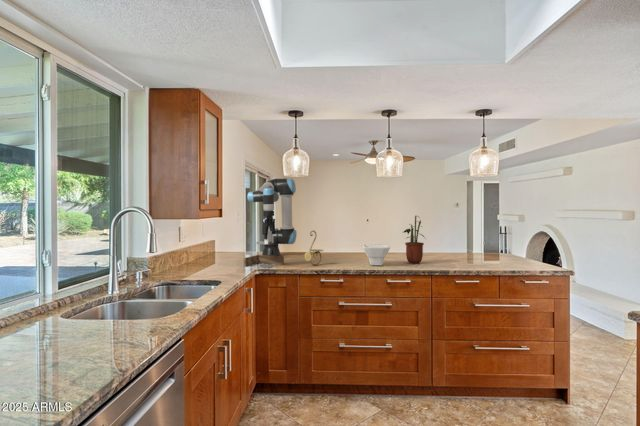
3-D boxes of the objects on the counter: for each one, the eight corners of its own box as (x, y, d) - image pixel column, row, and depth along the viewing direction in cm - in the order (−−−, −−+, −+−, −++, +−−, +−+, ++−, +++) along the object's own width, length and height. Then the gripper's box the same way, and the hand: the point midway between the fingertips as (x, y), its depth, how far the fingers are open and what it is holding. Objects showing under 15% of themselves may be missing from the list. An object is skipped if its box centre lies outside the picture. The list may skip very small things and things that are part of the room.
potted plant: (409, 261, 290) (409, 215, 290) (429, 263, 282) (429, 215, 281) (400, 264, 276) (400, 215, 275) (421, 266, 267) (421, 216, 266)
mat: (260, 264, 277) (260, 264, 277) (276, 265, 271) (276, 265, 271) (253, 266, 267) (253, 266, 267) (269, 268, 262) (269, 267, 262)
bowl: (362, 263, 282) (362, 244, 282) (389, 263, 280) (389, 244, 280) (362, 267, 264) (362, 247, 263) (391, 267, 261) (391, 247, 261)
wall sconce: (312, 267, 266) (312, 231, 265) (303, 265, 272) (303, 230, 272) (326, 264, 276) (326, 230, 275) (317, 263, 282) (316, 229, 282)
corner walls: (257, 262, 286) (257, 254, 286) (283, 264, 277) (283, 256, 277) (243, 266, 269) (243, 258, 269) (271, 268, 261) (270, 259, 260)
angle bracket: (272, 243, 270) (272, 231, 270) (267, 244, 265) (267, 231, 264) (261, 243, 274) (261, 230, 273) (256, 244, 268) (256, 231, 268)
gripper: (271, 210, 277) (271, 242, 278) (256, 210, 260) (257, 244, 260) (280, 210, 274) (280, 242, 275) (266, 210, 257) (266, 245, 257)
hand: (269, 243), depth 268 cm, fingers closed on angle bracket, 6 cm apart
